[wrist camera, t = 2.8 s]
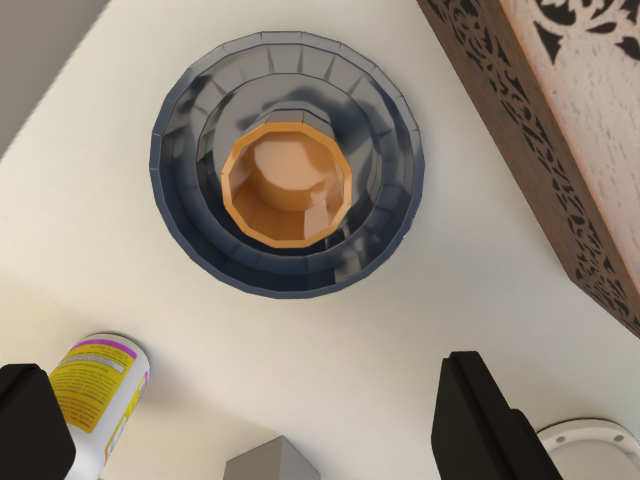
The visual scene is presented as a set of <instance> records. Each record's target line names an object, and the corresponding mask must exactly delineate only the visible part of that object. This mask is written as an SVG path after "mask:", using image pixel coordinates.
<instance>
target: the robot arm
mask: <svg viewBox="0 0 640 480" xmlns="http://www.w3.org/2000/svg"><path fill="white" fill-rule="evenodd" d="M431 444H432V450H433V454H434V457H435V461H436V464H437V467H438V470H439V473H440V477H441V480H640V445H639V444H638V443H637V442H636V440H635V439H634V438H633V436H632V435H631V434H630V433H629V432H628V431H627V430H626V429H624V428H623V427H621V426H619V425H617V424H615V423H611V422H608V421H603V420H595V419H582V420H575V421H568V422H565V423H561V424H558V425H555V426H552V427H550V428H548V429H545V430H543V431H541V432H540V433H538V434H536V433H535V431H534V429H533V428H532V426H531V424H530V423H529V421H528V419H527V418H526V417H525V415H524V414H523V413H522V412H521V411H520V410H518V409H510V407H509V405H508V404H507V402H506V400H505V398H504V397H503V395H502V393H501V391H500V389H499V388H498V386H497V384H496V382H495V381H494V379H493V377H492V375H491V374H490V372H489V370H488V368H487V367H486V365H485V363H484V361H483V360H482V358H481V356H480V355H479V353H478V352H476V351H459V352H451V354H450V357H449V358H444V359H443V361H442V367H441V373H440V380H439V387H438V394H437V400H436V407H435V414H434V420H433V427H432V434H431ZM75 457H76V447H75V444H74V442H73V439H72V436H71V434H70V431H69V429H68V426H67V424H66V421H65V419H64V416H63V414H62V411H61V409H60V406H59V403H58V401H57V398H56V396H55V393H54V391H53V388H52V386H51V383H50V381H49V378H48V375H47V373H46V372H45V371H44V370H41V369H40V367H39V366H38V365H37V364H32V363H31V364H8V365H5V366H3V367H2V368H1V369H0V480H64V479H65V478H66V476H67V474H68V472H69V471H70V469H71V467H72V465H73V463H74V461H75Z"/></svg>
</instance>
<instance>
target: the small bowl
mask: <svg viewBox="0 0 640 480" xmlns="http://www.w3.org/2000/svg"><path fill="white" fill-rule="evenodd" d="M352 175H353V172H352V169H351V166H350V163H349V160H348V157H347V155H346V152H345V150H344V148H343V146H342V144H341V142H340V141H339V139H338V137H337V135H336V134H335V132H334V130H333V128H332V127H331V126H330V125H329V124H327V123H325V122H324V121H322V120H320V119H319V118H317V117H315V116H313V115H312V114H310V113H308V112H307V111H305V112H304V111H303V110H294V111H274V112H271V113H269V114H268V115H266V116H265V117H263V118H262V119H260V120H258V121H257V122H255V123H254V124H252V125H251V126H249V127H248V128H247V129H246V130H245V132H244V133H243V134H242V135H241V136H240V137H239V138H238V139H237V140H236V141H235V142H234V144H233V146H232V148H231V150H230V153H229V155H228V157H227V159H226V161H225V163H224V165H223V167H222V169H221V174H220V177H221V186H222V194H223V203H224V206H225V209H226V210H227V211H228V213H229V214H230V215H231V217H232V218H233V219H234V221H235V222H236V224H237V225H238V226H239V228H240V229H241V230H242V232H245V234H246V235H248V236H250V237H252V238H254V239H256V240H258V241H260V242H262V243H264V244H266V245H269V246H271V247H274V248H305V247H308V246H310V245H311V244H313V243H315V242H317V241H319V240H321V239H322V238H324V237H326V236H328V235H330V234H332V233H333V232H334V231H335V230H336V229H337V227H338V226H339V224H340V222H341V221H342V219H343V218H344V216H345V214H346V213H347V211H348V210H349V208H350V206H351V204H352Z"/></svg>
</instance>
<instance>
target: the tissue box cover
mask: <svg viewBox="0 0 640 480" xmlns="http://www.w3.org/2000/svg"><path fill="white" fill-rule="evenodd" d="M417 2H418V4H419V6H420V8H421V9H422V11H423V13H424V15H425V17H426V18H427V20H428V22H429V24H430V26H431V27H432V29H433V31H434V33H435V35H436V37H437V38H438V40H439V42H440V44H441V46H442V47H443V49H444V51H445V53H446V55H447V57H448V58H449V60H450V62H451V64H452V66H453V67H454V69H455V71H456V73H457V75H458V76H459V78H460V80H461V82H462V84H463V86H464V87H465V89H466V91H467V93H468V95H469V96H470V98H471V100H472V102H473V104H474V106H475V107H476V109H477V111H478V113H479V115H480V116H481V118H482V120H483V122H484V124H485V125H486V127H487V129H488V131H489V133H490V135H491V136H492V138H493V140H494V142H495V144H496V145H497V147H498V149H499V151H500V153H501V155H502V156H503V158H504V160H505V162H506V164H507V165H508V167H509V169H510V171H511V173H512V175H513V176H514V178H515V180H516V182H517V184H518V185H519V187H520V189H521V191H522V193H523V194H524V196H525V198H526V200H527V202H528V204H529V205H530V207H531V209H532V211H533V213H534V214H535V216H536V218H537V220H538V222H539V224H540V225H541V227H542V229H543V231H544V233H545V234H546V236H547V238H548V240H549V242H550V243H551V245H552V247H553V249H554V251H555V253H556V254H557V256H558V258H559V260H560V262H561V263H562V265H563V267H564V269H565V271H566V273H567V274H568V276H569V278H570V280H571V281H572V282H573V283H575V284H576V285H577V286H578V287H579V288H580V289H582V290H583V291H584V292H585V293H586V294H587V295H589V296H590V297H591V298H592V299H593V300H594V301H596V302H597V303H598V304H599V305H600V306H601V307H603V308H604V309H605V310H606V311H607V312H608V313H610V314H611V315H612V316H613V317H614V318H615V319H617V320H618V321H619V322H620V323H621V324H622V325H624V326H625V327H626V328H627V329H628V330H629V331H631V332H632V333H633V334H634V335H635V336H636V337H638V338H639V339H640V0H417Z"/></svg>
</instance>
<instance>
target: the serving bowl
mask: <svg viewBox="0 0 640 480" xmlns="http://www.w3.org/2000/svg"><path fill="white" fill-rule="evenodd" d="M294 110H303V111H304V112H305V111H307V112H308V113H310V114H312V115H313V116H315V117H317V118H319V119H320V120H322V121H324V122H325V123H327V124H329V125H330V126H331V127H332V128H333V130H334V132H335V134H336V135H337V137H338V139H339V141H340V142H341V144H342V146H343V148H344V150H345V152H346V155H347V157H348V160H349V163H350V166H351V169H352V172H353V175H352V204H351V206H350V208H349V210H348V211H347V213H346V214H345V216H344V218H343V219H342V221H341V222H340V224H339V226H338V227H337V229H336V230H335V231H334V232H333V233H332V234H330V235H328V236H326V237H324V238H322V239H321V240H319V241H317V242H315V243H313V244H311V245H310V246H308V247H305V248H274V247H271V246H269V245H266V244H264V243H262V242H260V241H258V240H256V239H254V238H252V237H250V236H248V235H246V234H245V232H242V230H241V229H240V228H239V226H238V225H237V224H236V222H235V221H234V219H233V218H232V217H231V215H230V214H229V213H228V211H227V210H226V209H225V206H224V203H223V194H222V186H221V177H220V174H221V169H222V167H223V165H224V163H225V161H226V159H227V157H228V155H229V153H230V150H231V148H232V146H233V144H234V142H235V141H236V140H237V139H238V138H239V137H240V136H241V135H242V134H243V133H244V132H245V130H246V129H247V128H248V127H249V126H251V125H252V124H254V123H255V122H257V121H258V120H260V119H262V118H263V117H265V116H266V115H268V114H269V113H271V112H274V111H294ZM424 164H425V162H424V156H423V150H422V144H421V139H420V133H419V129H418V126H417V124H416V122H415V120H414V117H413V115H412V113H411V111H410V109H409V107H408V105H407V103H406V101H405V98H404V96H403V95H402V93H401V92H400V91H399V90H398V89H397V87H396V86H395V85H394V84H393V83H392V82H391V81H390V79H389V78H388V77H387V76H386V75H385V74H384V73H383V71H382V70H381V69H380V68H379V67H378V66H377V65H376V64H375V63H373V62H372V61H370V60H368V59H367V58H365V57H364V56H362V55H361V54H359V53H358V52H356V51H354V50H353V49H351V48H350V47H348V46H347V45H345V44H343V43H341V42H338V41H335V40H331V39H328V38H324V37H321V36H317V35H314V34H311V33H307V32H302V31H262V32H258V33H255V34H251V35H248V36H245V37H242V38H239V39H236V40H232V41H229V42H226V43H223V44H221V45H219V46H218V47H217V48H215V49H214V50H212V51H211V52H209V53H208V54H206V55H205V56H204V57H202V58H201V59H199V60H198V61H196V62H195V63H194V64H192V65H191V66H190V67H189V68H188V69H187V70H186V71H185V73H184V74H183V75H182V76H181V78H180V79H179V80H178V82H177V83H176V84H175V85H174V87H173V88H172V89H171V91H170V92H169V93H168V94H167V96H166V98H165V99H164V102H163V104H162V107H161V110H160V112H159V115H158V117H157V120H156V123H155V125H154V128H153V130H152V138H151V150H150V161H149V171H150V176H151V182H152V187H153V192H154V197H155V202H156V205H157V207H158V209H159V211H160V213H161V215H162V218H163V220H164V222H165V224H166V226H167V228H168V230H169V232H170V233H171V235H172V237H173V238H174V239H175V240H176V241H177V243H178V244H179V245H180V246H181V248H182V249H183V250H184V251H185V252H186V254H187V255H188V256H189V257H190V259H192V261H194V262H195V263H196V264H198V265H199V266H200V267H202V268H203V269H204V270H206V271H207V272H208V273H209V274H211V275H212V276H213V277H215V278H216V279H218V280H219V281H221V282H224V283H226V284H228V285H230V286H232V287H235V288H237V289H239V290H241V291H243V292H246V293H250V294H255V295H260V296H265V297H269V298H274V299H308V298H314V297H318V296H322V295H326V294H330V293H334V292H338V291H340V290H342V289H344V288H346V287H348V286H350V285H352V284H354V283H356V282H358V281H360V280H362V279H364V278H366V277H367V276H369V275H370V274H371V273H372V272H373V271H375V270H376V269H377V268H378V267H379V266H380V265H382V264H383V263H384V262H385V261H386V260H387V259H389V258H390V257H391V256H392V254H393V253H394V251H395V250H396V248H397V247H398V246H399V244H400V243H401V241H402V240H403V239H404V237H405V236H406V234H407V233H408V232H409V230H410V228H411V225H412V222H413V220H414V217H415V215H416V212H417V209H418V207H419V204H420V201H421V198H422V188H423V178H424V168H425V165H424Z"/></svg>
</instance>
